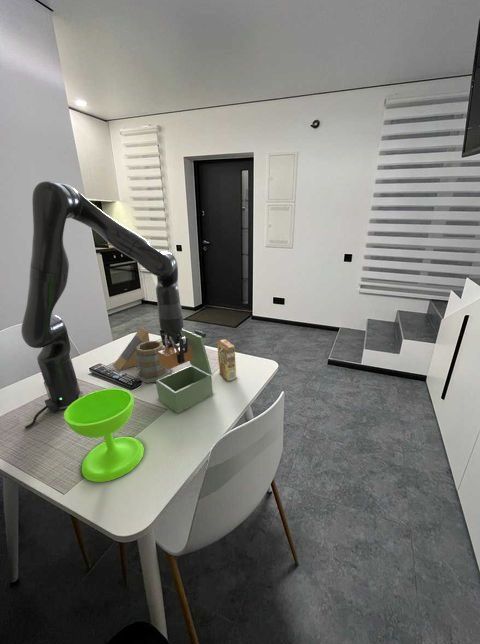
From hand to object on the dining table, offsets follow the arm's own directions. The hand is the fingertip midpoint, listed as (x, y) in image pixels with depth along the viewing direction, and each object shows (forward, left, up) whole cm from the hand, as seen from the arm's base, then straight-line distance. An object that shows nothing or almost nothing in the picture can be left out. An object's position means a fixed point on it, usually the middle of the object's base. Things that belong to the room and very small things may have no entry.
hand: (176, 360), depth 101 cm
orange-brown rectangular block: (0, 0, -1) cm, 1 cm away
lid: (+8, 0, 0) cm, 8 cm away
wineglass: (-29, -10, -17) cm, 35 cm away
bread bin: (+2, 0, -16) cm, 17 cm away
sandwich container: (+2, +43, -17) cm, 46 cm away
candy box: (+23, 0, -17) cm, 28 cm away
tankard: (+6, +25, -17) cm, 31 cm away
